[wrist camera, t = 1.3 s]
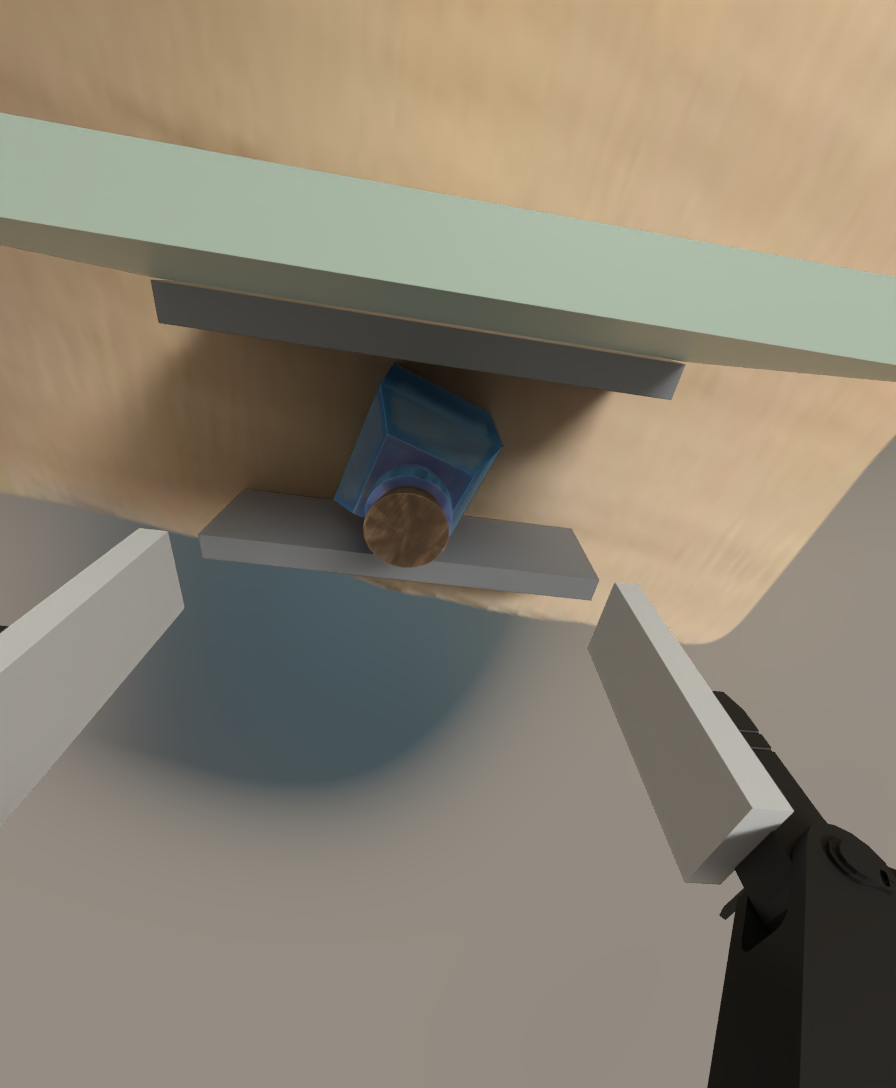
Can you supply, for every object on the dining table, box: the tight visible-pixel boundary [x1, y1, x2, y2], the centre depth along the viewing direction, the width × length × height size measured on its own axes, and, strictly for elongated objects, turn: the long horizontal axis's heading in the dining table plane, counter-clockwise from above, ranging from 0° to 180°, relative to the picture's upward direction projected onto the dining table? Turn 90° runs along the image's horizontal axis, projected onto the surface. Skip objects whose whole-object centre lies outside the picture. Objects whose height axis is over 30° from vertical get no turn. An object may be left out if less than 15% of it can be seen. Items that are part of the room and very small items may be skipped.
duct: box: [151, 280, 685, 600], centre depth 23 cm, size 13×22×6 cm, turn 82°
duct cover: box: [0, 113, 896, 382], centre depth 11 cm, size 13×22×1 cm
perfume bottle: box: [333, 363, 503, 568], centre depth 21 cm, size 6×6×12 cm
